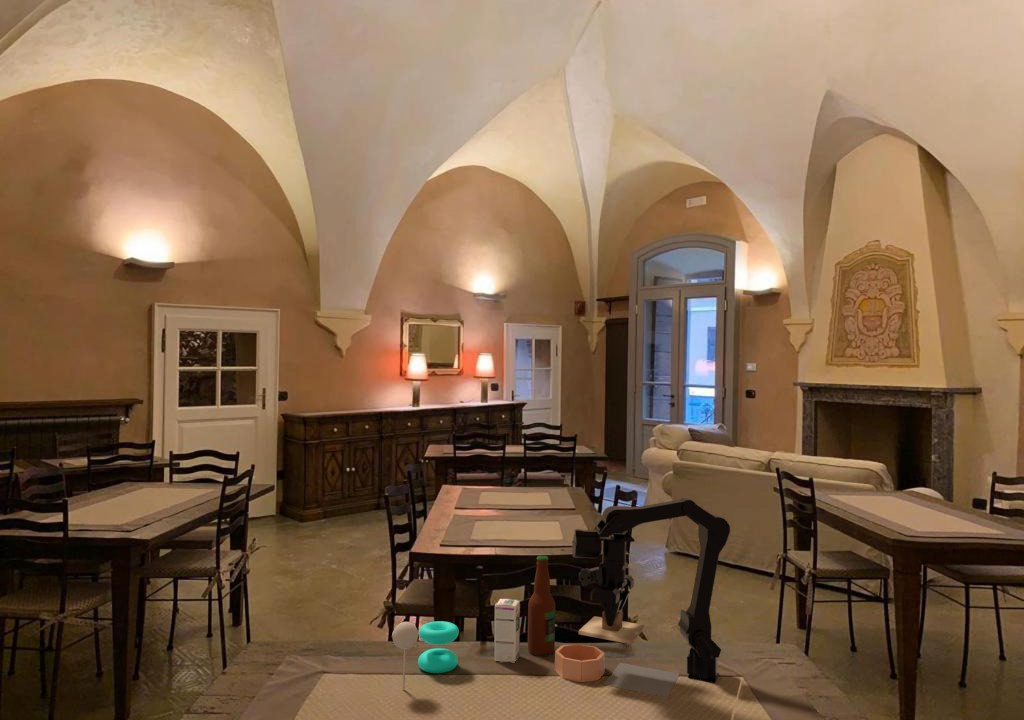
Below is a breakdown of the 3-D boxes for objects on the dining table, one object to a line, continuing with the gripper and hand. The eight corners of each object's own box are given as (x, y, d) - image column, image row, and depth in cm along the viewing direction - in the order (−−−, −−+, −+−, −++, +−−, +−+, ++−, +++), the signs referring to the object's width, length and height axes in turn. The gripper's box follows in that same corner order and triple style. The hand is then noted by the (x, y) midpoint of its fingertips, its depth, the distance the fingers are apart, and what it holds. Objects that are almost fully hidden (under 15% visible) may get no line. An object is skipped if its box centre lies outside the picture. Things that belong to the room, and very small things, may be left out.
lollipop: (421, 686, 147) (423, 620, 148) (409, 697, 141) (411, 628, 143) (397, 682, 149) (400, 616, 150) (385, 692, 143) (387, 624, 145)
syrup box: (515, 664, 161) (516, 605, 163) (493, 661, 163) (494, 603, 164) (519, 655, 167) (520, 599, 168) (498, 653, 168) (499, 597, 169)
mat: (679, 675, 156) (679, 673, 156) (667, 699, 143) (667, 697, 143) (620, 664, 163) (620, 662, 163) (603, 686, 149) (603, 684, 149)
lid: (644, 628, 158) (644, 608, 159) (631, 644, 147) (632, 622, 147) (594, 619, 164) (594, 600, 164) (578, 634, 152) (579, 613, 152)
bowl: (608, 669, 159) (608, 648, 160) (594, 686, 149) (594, 664, 149) (565, 661, 164) (566, 641, 164) (549, 677, 154) (550, 655, 154)
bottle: (555, 657, 167) (556, 560, 169) (527, 656, 167) (529, 559, 169) (553, 646, 174) (555, 554, 176) (527, 646, 174) (529, 553, 176)
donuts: (466, 624, 161) (441, 635, 152) (465, 665, 160) (439, 678, 152) (437, 617, 166) (410, 627, 158) (436, 656, 165) (409, 668, 157)
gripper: (593, 548, 169) (591, 608, 167) (571, 561, 152) (568, 628, 150) (635, 553, 164) (633, 615, 163) (616, 568, 147) (614, 637, 146)
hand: (612, 623), depth 155 cm, fingers closed on lid, 4 cm apart
